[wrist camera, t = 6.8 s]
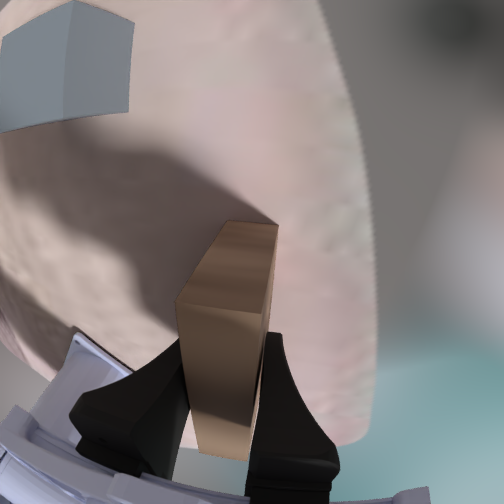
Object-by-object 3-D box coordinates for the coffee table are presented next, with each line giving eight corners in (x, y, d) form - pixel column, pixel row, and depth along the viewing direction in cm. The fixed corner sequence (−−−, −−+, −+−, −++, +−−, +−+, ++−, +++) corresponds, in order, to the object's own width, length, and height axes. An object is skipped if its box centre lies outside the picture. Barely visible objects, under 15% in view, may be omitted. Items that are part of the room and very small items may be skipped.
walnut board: (263, 369, 19) (247, 461, 12) (226, 363, 19) (199, 452, 13) (278, 224, 14) (261, 313, 8) (227, 219, 15) (174, 301, 8)
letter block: (135, 23, 11) (74, 0, 6) (129, 112, 13) (63, 118, 8) (63, 43, 11) (1, 38, 7) (59, 121, 13) (-5, 134, 9)
